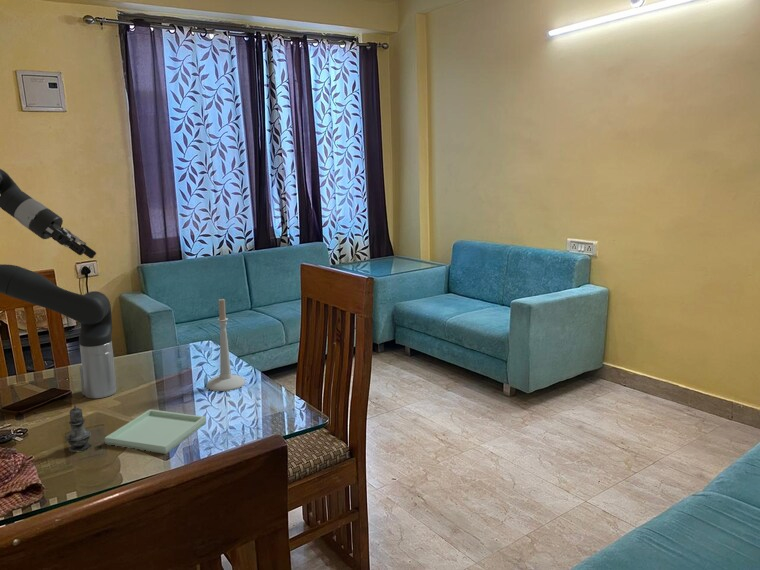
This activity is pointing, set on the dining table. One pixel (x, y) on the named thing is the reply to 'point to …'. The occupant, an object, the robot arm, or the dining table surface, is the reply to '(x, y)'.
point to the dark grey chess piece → (78, 432)
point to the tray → (156, 431)
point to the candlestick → (224, 360)
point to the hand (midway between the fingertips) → (88, 254)
